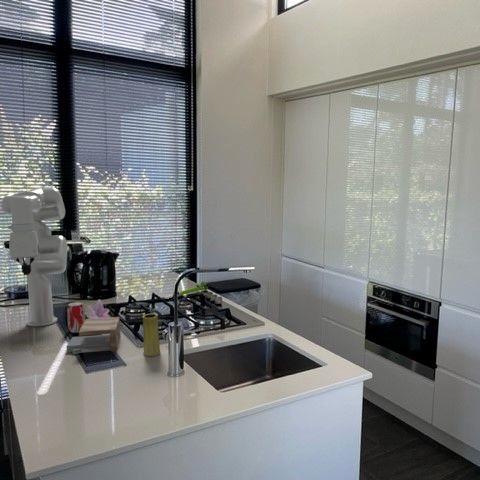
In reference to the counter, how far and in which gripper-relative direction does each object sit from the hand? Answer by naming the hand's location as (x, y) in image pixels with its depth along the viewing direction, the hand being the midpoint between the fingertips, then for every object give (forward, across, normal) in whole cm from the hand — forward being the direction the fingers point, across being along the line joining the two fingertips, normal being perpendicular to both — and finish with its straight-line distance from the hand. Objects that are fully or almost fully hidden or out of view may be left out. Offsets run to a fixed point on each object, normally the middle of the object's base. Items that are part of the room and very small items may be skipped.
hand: (26, 274), depth 179 cm
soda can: (+27, +16, +8) cm, 33 cm away
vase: (+27, +48, -25) cm, 61 cm away
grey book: (+27, +25, -12) cm, 39 cm away
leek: (+28, +65, +58) cm, 92 cm away
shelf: (+27, +27, -12) cm, 40 cm away
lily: (+27, +24, +17) cm, 40 cm away
